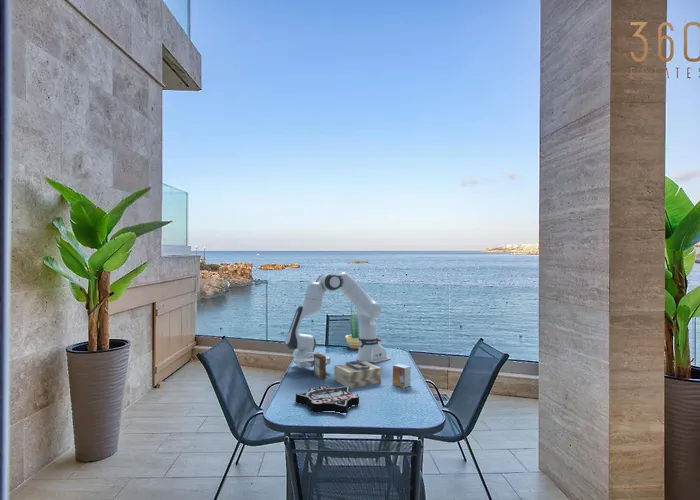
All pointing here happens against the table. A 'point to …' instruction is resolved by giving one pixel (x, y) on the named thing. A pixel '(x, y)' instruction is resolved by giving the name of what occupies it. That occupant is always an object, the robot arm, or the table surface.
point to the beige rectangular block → (357, 374)
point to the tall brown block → (319, 366)
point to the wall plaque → (328, 399)
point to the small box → (401, 375)
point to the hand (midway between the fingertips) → (319, 364)
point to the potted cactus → (353, 332)
